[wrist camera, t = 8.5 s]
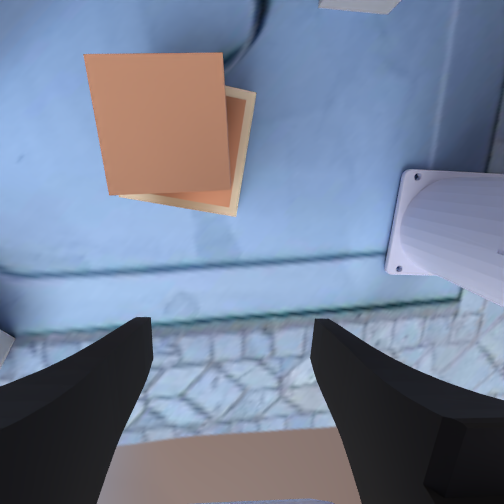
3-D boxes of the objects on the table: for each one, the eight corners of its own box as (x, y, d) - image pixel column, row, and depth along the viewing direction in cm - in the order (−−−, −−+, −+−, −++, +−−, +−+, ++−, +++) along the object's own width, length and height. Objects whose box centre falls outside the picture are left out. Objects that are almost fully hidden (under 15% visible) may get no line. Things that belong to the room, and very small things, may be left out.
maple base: (252, 108, 18) (256, 92, 15) (235, 210, 20) (236, 216, 16) (146, 85, 17) (125, 62, 14) (138, 193, 19) (118, 196, 16)
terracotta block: (226, 100, 15) (222, 52, 9) (230, 184, 16) (230, 190, 10) (142, 102, 14) (83, 54, 9) (154, 188, 16) (109, 195, 10)
